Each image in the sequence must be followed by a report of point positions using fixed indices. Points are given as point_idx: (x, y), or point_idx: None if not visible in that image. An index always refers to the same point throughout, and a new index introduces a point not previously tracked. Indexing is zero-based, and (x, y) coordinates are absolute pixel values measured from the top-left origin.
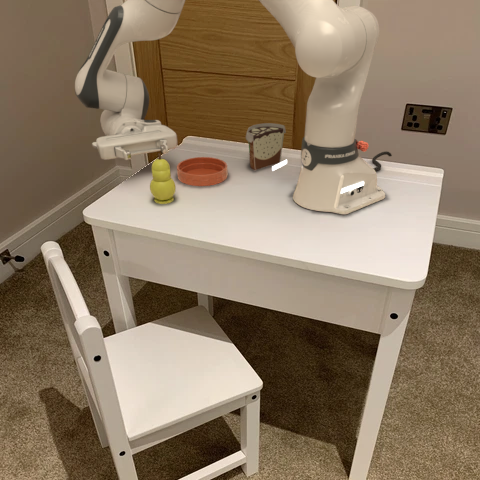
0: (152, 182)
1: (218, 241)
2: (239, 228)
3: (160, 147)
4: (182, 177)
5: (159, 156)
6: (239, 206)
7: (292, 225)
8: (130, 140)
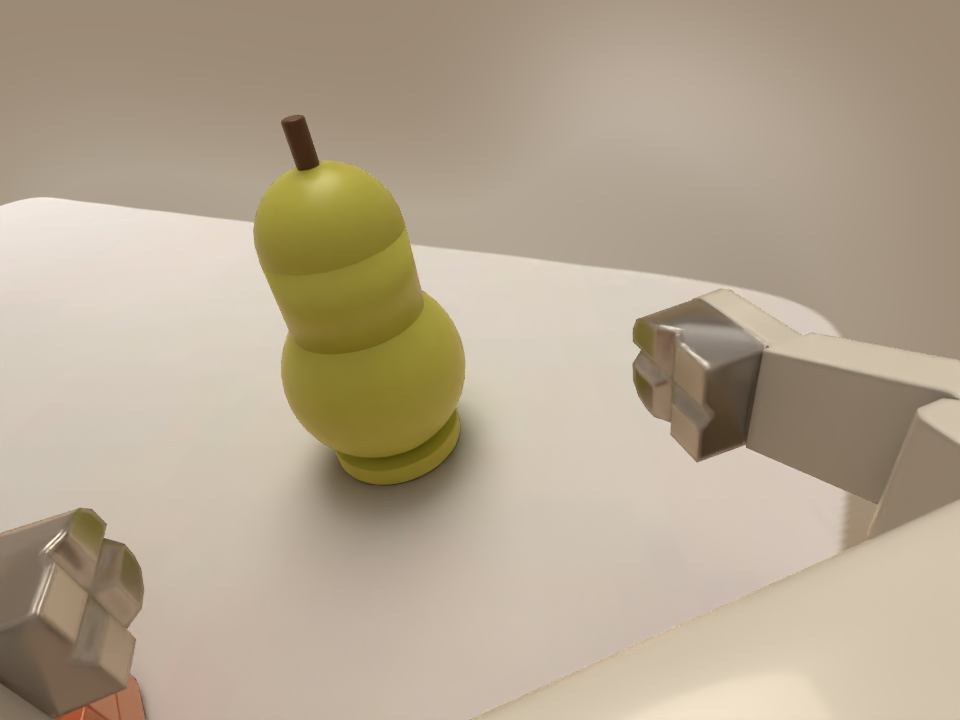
0: (432, 298)
1: None
2: (186, 276)
3: (76, 603)
4: (117, 702)
5: (302, 136)
6: (61, 390)
7: (22, 298)
8: (848, 670)
